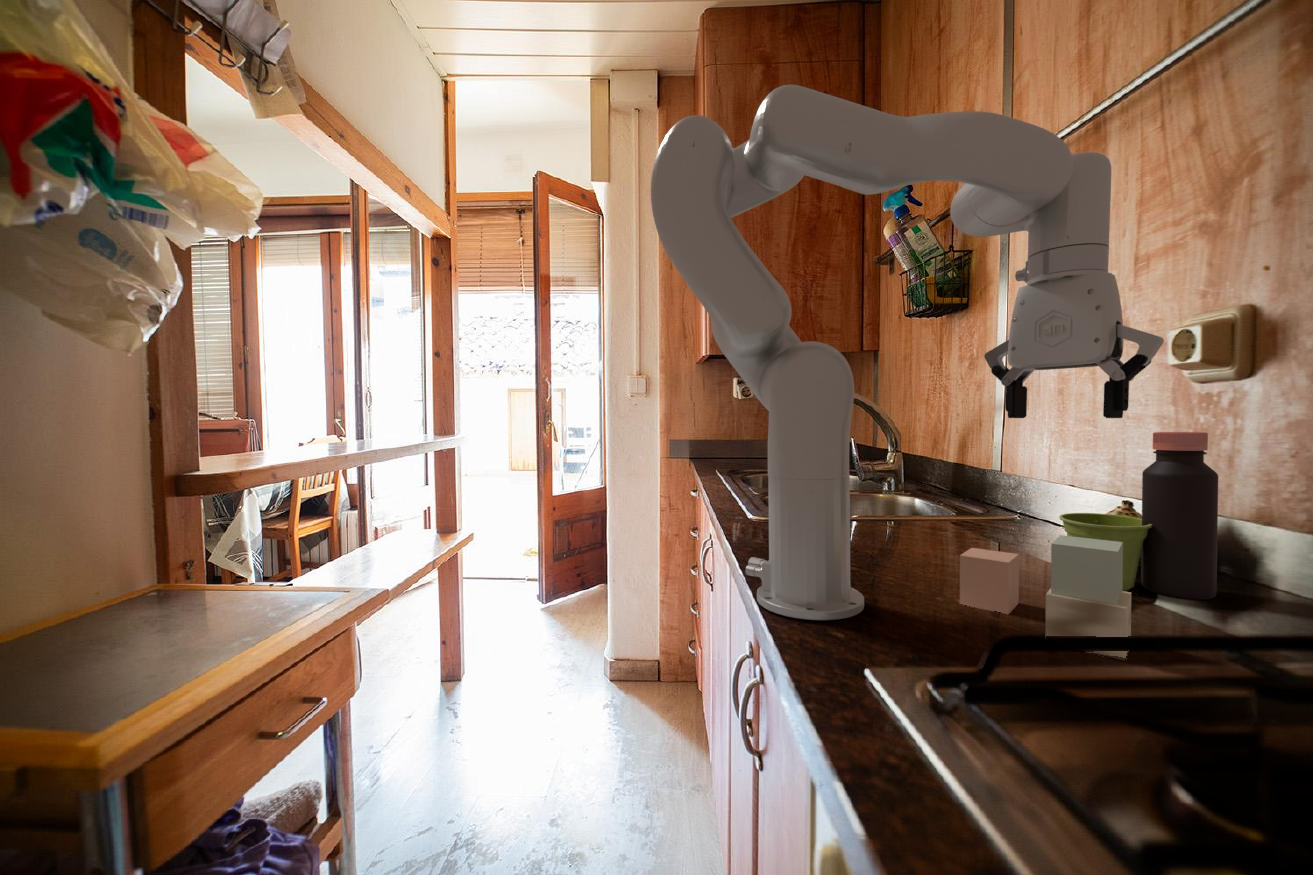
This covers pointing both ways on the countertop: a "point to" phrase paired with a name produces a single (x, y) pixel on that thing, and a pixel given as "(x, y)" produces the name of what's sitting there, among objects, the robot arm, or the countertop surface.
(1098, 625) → the tower base
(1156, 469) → the bottle
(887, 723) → the countertop surface
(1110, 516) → the plant pot
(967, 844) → the countertop surface
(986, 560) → the block
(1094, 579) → the tower top
